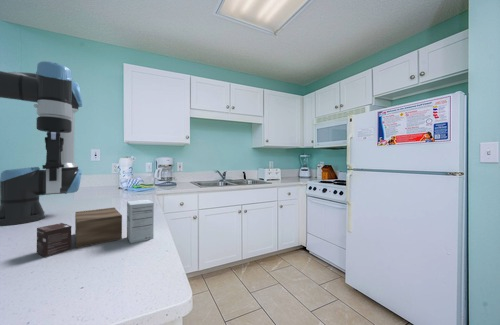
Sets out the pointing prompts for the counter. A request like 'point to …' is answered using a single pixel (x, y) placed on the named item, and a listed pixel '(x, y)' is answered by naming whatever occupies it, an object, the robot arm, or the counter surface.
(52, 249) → the box
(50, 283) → the counter surface
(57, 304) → the counter surface
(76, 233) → the walnut stand
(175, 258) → the counter surface
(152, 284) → the counter surface
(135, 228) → the supplement box
